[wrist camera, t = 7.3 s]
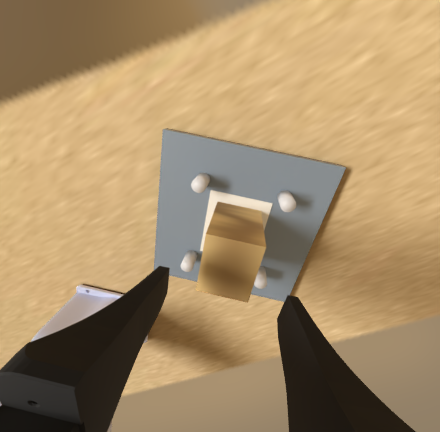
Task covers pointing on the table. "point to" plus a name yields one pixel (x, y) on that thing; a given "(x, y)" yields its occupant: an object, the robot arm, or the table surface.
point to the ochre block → (232, 252)
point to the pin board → (240, 204)
